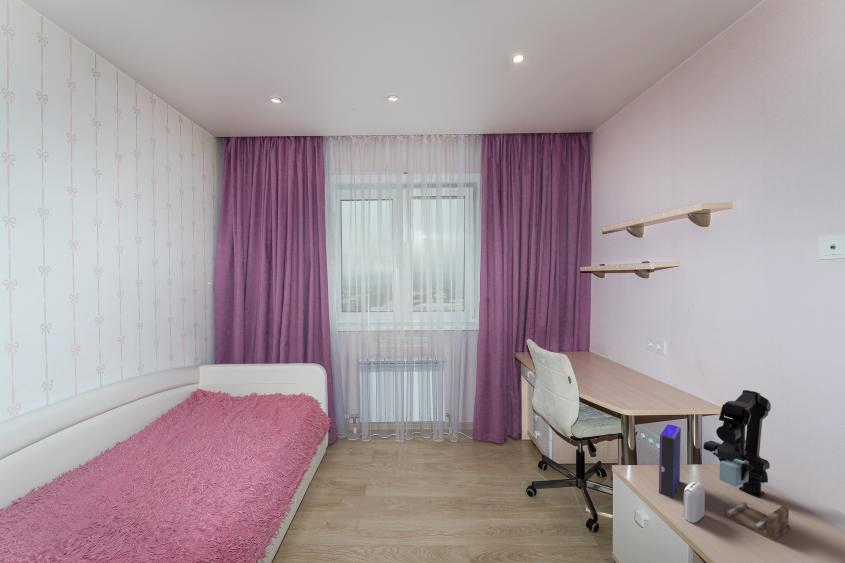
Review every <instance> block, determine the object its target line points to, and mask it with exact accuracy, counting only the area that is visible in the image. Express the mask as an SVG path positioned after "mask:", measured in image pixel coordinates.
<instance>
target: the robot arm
mask: <svg viewBox="0 0 845 563" xmlns="http://www.w3.org/2000/svg"><path fill="white" fill-rule="evenodd" d="M771 405H772V404H771V402H770V401H769V399H768V398H766V397H764V396H763V395H762V394H761V393H760V392H757V391H753V390H749V389H743V390H742V393H741V394H740V395H739V396H738V397H737V398H736V399H735V400H727V401H726V402H725V403H724V404H722V406H721V410H720V414H719V416H718V421H721V422H723V423H722V425H721V426H718V427H717V429H716V430H715V433H716V436H717V437H718V438H719V439H720V441H722V443H719V442H717V441H714V440H708V441H705V442H703V450H705V451H708V452H711V453H712V455H713V456H716V458H717V459H718V460H719V463H720V462H721V461H724V460H729V461H734V459H738V460H742V461H744V462H745V463H743V464H741V465H742V475H741V478H742V480H745V478H746V476H747V475H748V473H749V481H748V482H746V483H743V484H742V485H741V486H739V487H738V489H739V491H742V492H745V493H747V494H749V495H752V496H754V497H757V498H760V497H761V496H764V495H765V494H766V493H765V491H763V490H762V483H763V484H764V483H767V484H768V483H769V476H768V472H767V470H768V469H770V467H771V466H770V465H771V464H770V462H769V461H768V460H767V459H764V458H763V457H761V456H760V450H761V441H762V440H761V439H762V438H761V437H762V429H763V428H762V427H763V420H764V419H765V418H766V417H768V416H769V413H770V411H771V408H772V406H771Z"/></svg>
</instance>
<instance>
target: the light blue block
mask: <svg viewBox="0 0 845 563" xmlns="http://www.w3.org/2000/svg"><path fill="white" fill-rule="evenodd" d="M743 463H745V462H744V461H742V460H738V459H734V461H729V460H724V461H721V462H720V461H719V481H721V482H724V483H726V484H728V485H731V486H733V487H738V486H740V485H741V486H742V485H743V483H746V482H748V481H749V473H748V475H747V476H746V478H745V480H742V478H741V475H742V465H741V464H743Z"/></svg>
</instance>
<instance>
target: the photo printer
mask: <svg viewBox="0 0 845 563" xmlns="http://www.w3.org/2000/svg"><path fill="white" fill-rule="evenodd" d="M705 499H706V488H705V486H704V485H703V484H702V483H700V482H699V481H693V482H690V483H688V484H687V485H686V486H685V488H684V490H683V507H682V508H683V510H682V511H683V512H682V517H683V519H684V520H685V521H687V522H689V523H692V524H696V523H698V522H699V521H700V520H701V519H703V518H704V516H705V505H706V504H705V502H706V500H705Z"/></svg>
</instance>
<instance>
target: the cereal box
mask: <svg viewBox="0 0 845 563" xmlns="http://www.w3.org/2000/svg"><path fill="white" fill-rule="evenodd" d="M681 432H682V428H681V427H680V426H677V425H673V424H667V425H665V428H664V429H663V430H662V432H661V433H660V434H659V458H658V459H659V464H658V468H659V470H658V494H661V495H663V496H665V497H668V498H671V499H674V496H675V494H676V492H675V491H677V489H678V487H679V484H680V482H681V480H680V478H681V441H682V440H681V439H682V438H681V435H682V434H681ZM679 481H680V482H679ZM677 486H678V487H677Z"/></svg>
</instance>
